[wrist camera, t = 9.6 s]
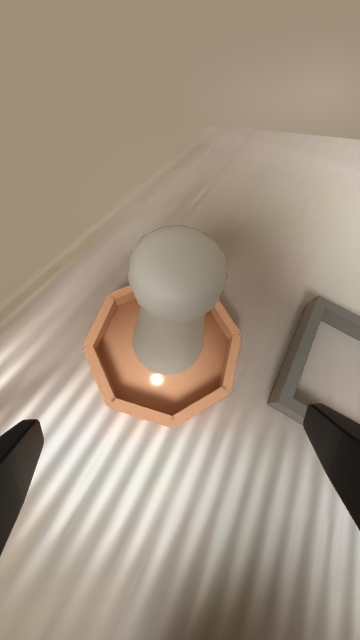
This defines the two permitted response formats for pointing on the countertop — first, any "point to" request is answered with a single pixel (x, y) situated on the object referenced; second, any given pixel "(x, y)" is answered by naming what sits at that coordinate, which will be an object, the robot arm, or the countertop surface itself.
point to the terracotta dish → (153, 388)
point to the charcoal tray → (307, 352)
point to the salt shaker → (174, 295)
